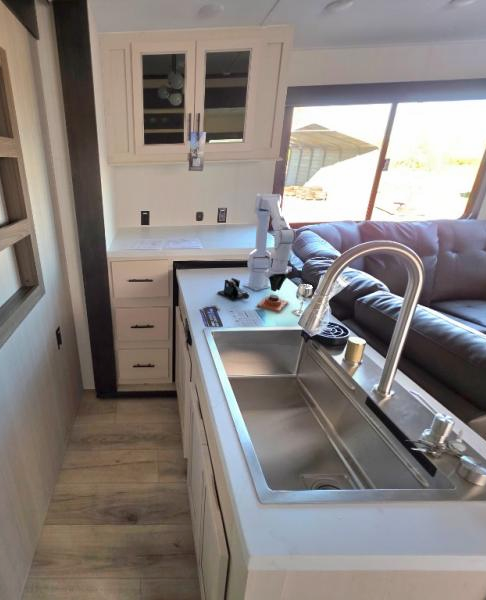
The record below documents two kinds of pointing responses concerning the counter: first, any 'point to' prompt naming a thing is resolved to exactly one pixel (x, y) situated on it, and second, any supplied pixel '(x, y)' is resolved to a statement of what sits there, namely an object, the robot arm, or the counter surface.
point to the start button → (273, 298)
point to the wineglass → (303, 295)
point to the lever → (244, 294)
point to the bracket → (231, 290)
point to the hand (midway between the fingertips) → (275, 290)
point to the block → (272, 304)
